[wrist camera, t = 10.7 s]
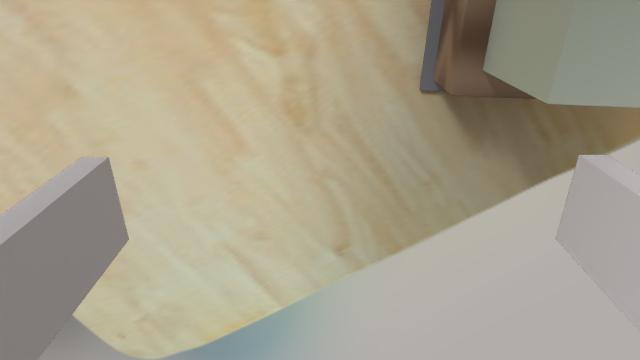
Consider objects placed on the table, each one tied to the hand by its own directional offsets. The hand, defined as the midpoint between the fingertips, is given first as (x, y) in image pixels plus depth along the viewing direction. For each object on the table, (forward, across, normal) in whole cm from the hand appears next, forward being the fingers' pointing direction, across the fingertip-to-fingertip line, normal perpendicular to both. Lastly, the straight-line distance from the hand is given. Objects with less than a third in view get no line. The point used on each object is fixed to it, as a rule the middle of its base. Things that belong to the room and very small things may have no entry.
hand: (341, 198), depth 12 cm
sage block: (+21, +14, +2) cm, 26 cm away
